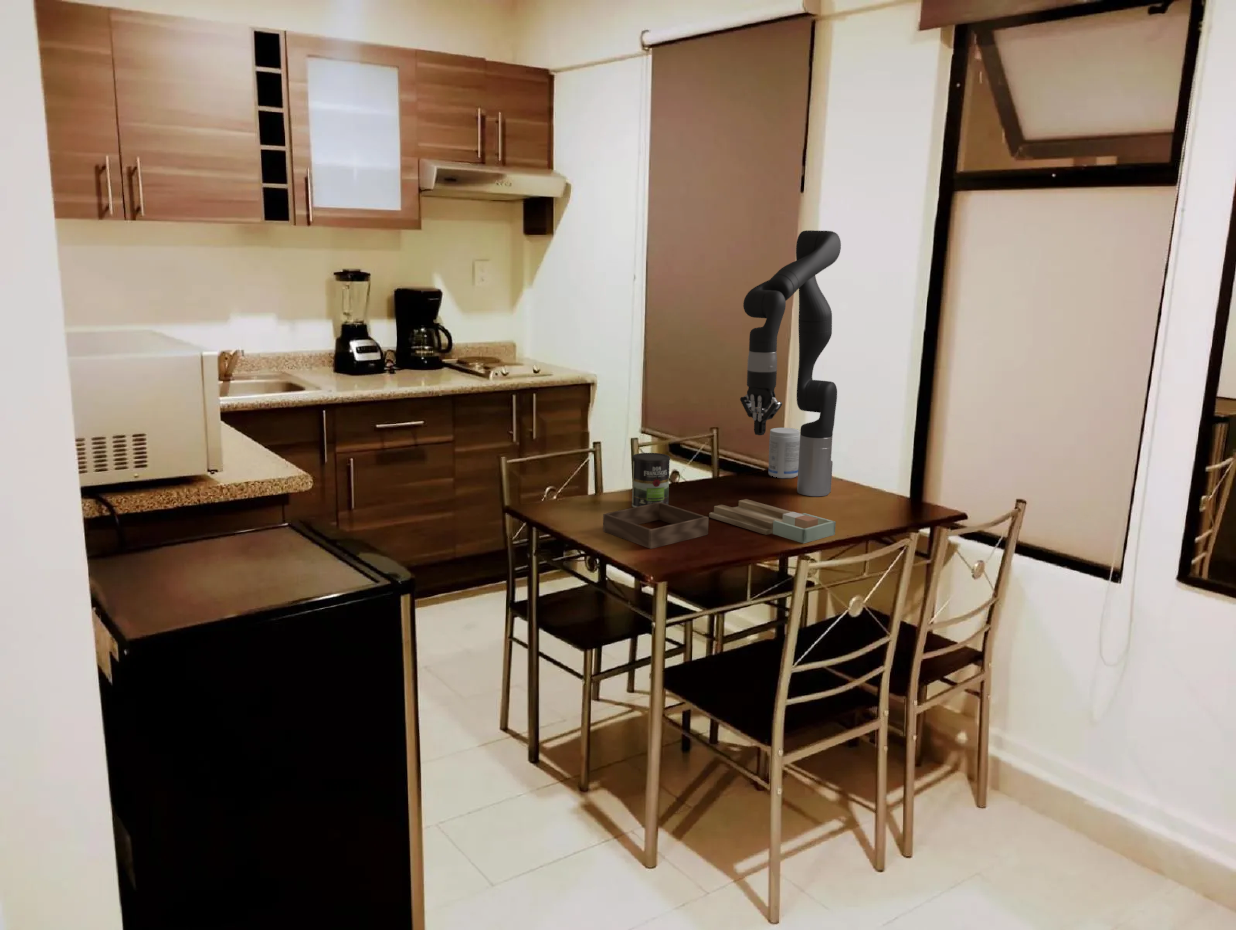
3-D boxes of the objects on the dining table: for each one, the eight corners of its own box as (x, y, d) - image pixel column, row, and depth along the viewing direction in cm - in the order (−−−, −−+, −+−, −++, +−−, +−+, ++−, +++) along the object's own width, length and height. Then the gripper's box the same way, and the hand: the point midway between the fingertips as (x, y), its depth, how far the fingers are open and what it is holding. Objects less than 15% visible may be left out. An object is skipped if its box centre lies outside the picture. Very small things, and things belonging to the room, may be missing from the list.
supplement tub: (799, 473, 303) (802, 428, 299) (797, 480, 294) (800, 433, 290) (769, 471, 305) (771, 426, 302) (766, 477, 296) (768, 431, 293)
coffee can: (673, 509, 258) (675, 459, 255) (638, 512, 255) (639, 461, 252) (661, 500, 268) (662, 451, 265) (627, 502, 265) (627, 453, 262)
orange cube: (804, 530, 239) (805, 515, 238) (817, 534, 236) (818, 518, 235) (794, 533, 237) (795, 517, 236) (806, 536, 234) (807, 521, 233)
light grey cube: (792, 526, 242) (793, 511, 241) (804, 530, 239) (805, 515, 238) (781, 529, 240) (782, 514, 239) (794, 533, 237) (795, 517, 236)
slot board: (750, 507, 261) (750, 498, 261) (807, 523, 246) (807, 513, 246) (709, 517, 251) (709, 507, 251) (765, 534, 236) (766, 524, 236)
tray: (803, 525, 245) (804, 513, 244) (834, 534, 237) (835, 521, 236) (772, 533, 237) (773, 520, 236) (803, 543, 230) (804, 530, 229)
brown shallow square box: (659, 518, 249) (659, 502, 248) (707, 534, 236) (708, 517, 235) (603, 531, 238) (603, 513, 237) (650, 548, 224) (651, 530, 223)
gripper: (791, 370, 241) (788, 436, 245) (752, 364, 250) (750, 429, 255) (772, 372, 236) (769, 440, 240) (733, 367, 246) (731, 432, 250)
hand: (759, 434), depth 247 cm, fingers closed
